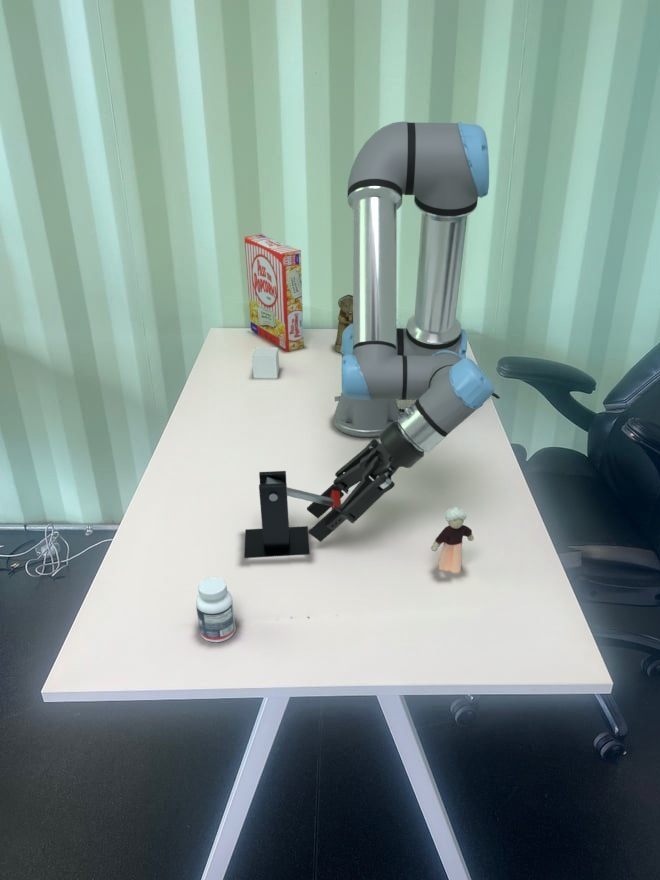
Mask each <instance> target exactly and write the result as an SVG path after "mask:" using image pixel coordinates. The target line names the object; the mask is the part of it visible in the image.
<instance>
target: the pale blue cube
mask: <svg viewBox="0 0 660 880" xmlns="http://www.w3.org/2000/svg"><path fill="white" fill-rule="evenodd" d="M251 360H252V361H251V362H252V372H253V379H278V376H279V372H280V356H279V347H260V346H259V347H257V346H256V347H254V349H253V351H252V355H251Z"/></svg>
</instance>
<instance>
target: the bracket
mask: <svg viewBox="0 0 660 880" xmlns="http://www.w3.org/2000/svg"><path fill="white" fill-rule="evenodd" d="M258 477H259V485H258V491H259V503H260V517H261V528H249V529H248V528H247V529H245V532H244V553H243V559H253V558H254V559H255V558H257V559H258V558H272V557H273V558H274V557H288V556H289V557H290V556H308V555H311V553H310V541H309V528H308V525H307V526H305V525H304V526H302V525H301V526H290V523H289V521H290V520H289V505H288V501H289V500H288V496H287V487H288V486H287V485H288V483H287V471H286V470H275V471H273V470H272V471H259V473H258ZM267 477H269V478H273V479H277V480H281V481H283V483H276V484H265V482H266V479H267Z"/></svg>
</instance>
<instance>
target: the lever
mask: <svg viewBox="0 0 660 880" xmlns="http://www.w3.org/2000/svg"><path fill="white" fill-rule="evenodd" d="M276 483H283V481H281V480H277V479H273V478H269V477H267V479H266V482H265V484H276ZM287 497H291V498H295V499H299V500H304V501H308V502H311V503H313V502H315V503H319V504H324V505H328V506H331V510H332V509H334V507H335V505H336V506H337V507H340V506H341V504H342V501H341V499H342V498H341V499H340V493H339V491H336V490H332V492H331V494H330V498H329V497H325V496H321V494H316V493H312V492H308V491H304V490H300V489H296V488H291V487H288V486H287Z"/></svg>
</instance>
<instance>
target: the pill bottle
mask: <svg viewBox="0 0 660 880" xmlns="http://www.w3.org/2000/svg"><path fill="white" fill-rule="evenodd" d="M197 590H198V595H197V597H196V600H195V606H196V613H197V621H198V625H199V633H200V636H201V637H202V638H203V640H205V641H207V642H210V643H220V642H225V641H227V640H229V639H230V638H231V637H232V636H233V635H234V634H235V632H236V627H237V626H236V619H235V611H234V603H233V596H232V593H231V592H230V591H228V586H227V582H226V580H224V579H223V578H221V577H218V576H210V577H207V578H204V579H202V580H201V581H199V583H198V586H197Z"/></svg>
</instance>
